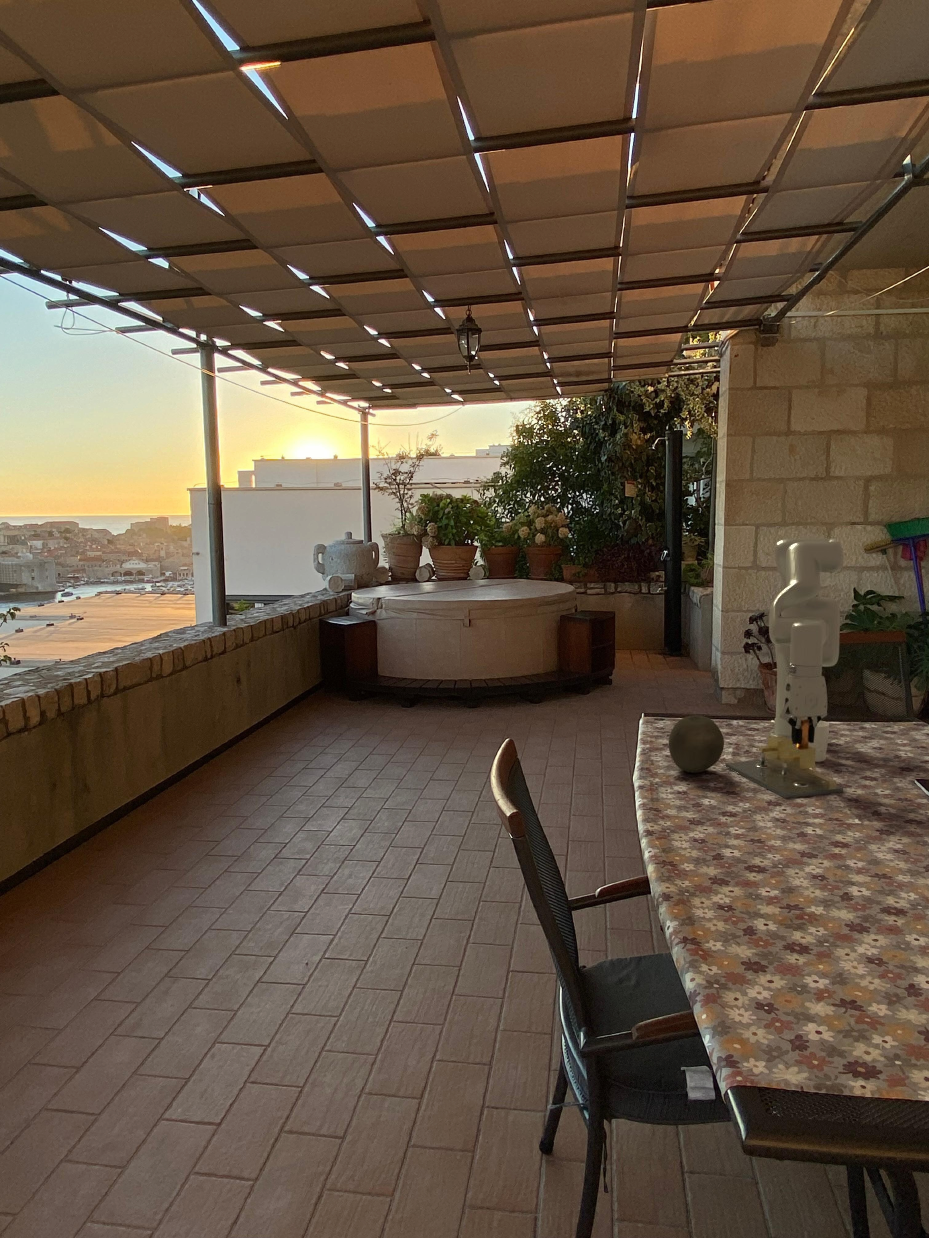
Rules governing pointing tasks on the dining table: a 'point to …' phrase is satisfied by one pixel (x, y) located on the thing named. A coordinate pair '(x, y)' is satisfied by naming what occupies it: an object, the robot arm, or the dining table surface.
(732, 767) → the grey sliding latch board
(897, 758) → the dining table surface
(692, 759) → the dimpled olive sphere
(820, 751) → the white cup
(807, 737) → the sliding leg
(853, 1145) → the dining table surface
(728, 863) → the dining table surface
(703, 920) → the dining table surface
